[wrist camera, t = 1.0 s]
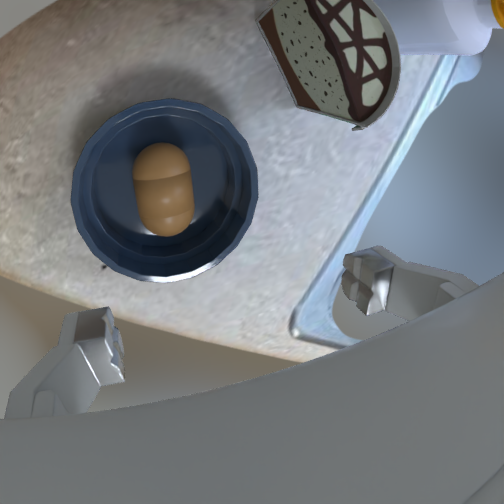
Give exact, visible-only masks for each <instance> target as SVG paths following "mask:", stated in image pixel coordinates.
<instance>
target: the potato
mask: <svg viewBox="0 0 504 504" xmlns="http://www.w3.org/2000/svg"><path fill="white" fill-rule="evenodd" d="M132 178H133V184H134V190H135V196H136V202H137V207H138V213H139V216H140V220H141V222H142V223H143V225H144V226H145V227H146V229H148V230H149V231H150V232H151V233H153V234H156V235H158V236H165V237H168V236H174V235H176V234H179V233H180V232H182V231H183V230H185V229H186V228H187V227H188V225H189V224H190V222H191V221H192V218H193V216H194V211H195V204H194V195H193V186H192V177H191V168H190V164H189V160H188V158H187V156H186V155H185V153H184V152H183V151H182V150H181V149H180V148H178V147H177V146H175V145H173V144H170V143H163V142H162V143H155V144H152V145H150V146H147V147H146V148H145V149H143V150H142V151H141V152H140V153H139V154H138V156H137V158H136V159H135V161H134V164H133V169H132Z"/></svg>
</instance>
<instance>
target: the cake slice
mask: <svg viewBox="0 0 504 504" xmlns="http://www.w3.org/2000/svg"><path fill="white" fill-rule="evenodd" d="M255 21H256V23H257V25H258V27H259V29H260V31H261V33H262V35H263V37H264V39H265V41H266V43H267V45H268V47H269V49H270V51H271V53H272V55H273V57H274V59H275V61H276V63H277V65H278V67H279V69H280V72H281V74H282V76H283V78H284V80H285V82H286V84H287V87H288V89H289V91H290V93H291V95H292V98H293V100H294V102H295V104H296V107H297V108H300V109H304V110H307V111H311V112H315V113H318V114H322V115H326V116H329V117H332V118H336V119H339V120H342V121H346V122H349V123H352V124H355V125H357V126H355V127H354V128H352V131H355V130H363V129H365V128H367V127H369V126H370V125H372V124H374V123H375V122H376V121H377V120H378V119H379V118H381V117H382V116H383V115H384V113H385V112H386V111H387V109H388V108H389V107H390V105H391V103H392V101H393V99H394V97H395V95H396V92H397V89H398V85H399V81H400V73H401V58H400V51H399V45H398V42H397V39H396V36H395V33H394V31H393V28H392V26H391V24H390V22H389V21H388V19H387V17H386V16H385V14H384V13H383V11H382V10H381V9H380V8H379V6H378V5H377V4H376V3H375V2H374V1H373V0H276V1H275V2H274V3H273V4H272V5H271V6H270V7H269V8H268V9H266V10H265V11H264V12H263V13H262V14H261V15H260V16H259V17H258V18H257V19H256V20H255Z"/></svg>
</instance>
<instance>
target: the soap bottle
mask: <svg viewBox="0 0 504 504" xmlns="http://www.w3.org/2000/svg"><path fill="white" fill-rule="evenodd" d="M373 1H374V2H375V3H376V4H377V5H378V6H379V8H380V9H381V10H382V11H383V13H384V14H385V16H386V17H387V19H388V21H389V22H390V24H391V26H392V28H393V31H394V33H395V36H396V39H397V42H398V45H399V51H400V54H402V55H424V54H430V55H464V56H469V55H474V54H477V53H479V52H482V51H483V50H484V48H485V47H486V46H487V44H488V42H489V39H490V36H491V32H492V28H502V29H504V0H373Z"/></svg>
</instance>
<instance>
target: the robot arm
mask: <svg viewBox="0 0 504 504" xmlns="http://www.w3.org/2000/svg"><path fill="white" fill-rule="evenodd" d="M343 266H344V268H345V269H346V270H345V272H344V273H343V275H342V281H341V285H342V289H343V292H344V294H345V295H346V296H347V297H348V298H349V300H352V301H356V306H357V307H358V308H359V309H360V310H361V311H362V312H363V313H364V314H365V315H366V316H369V315H372V314H375V313H378V312H381V311H384V310H385V311H386V312H388V313H391V314H393V315H395V316H398V317H400V318H402V319H405V320H407V321H409V322H406V323H404V324H402V325H400V326H397V327H395V328H393V329H391V330H388V331H386V332H383V333H381V334H379V335H376V336H374V337H371V338H369V339H366V340H364V341H361V342H359V343H356V344H354V345H351V346H349V347H346V348H343V349H341V350H338V351H335V352H333V353H330V354H327V355H324V356H322V357H319V358H316V359H313V360H310V361H307V362H304V363H301V364H299V365H296V366H292V367H290V368H286V369H283V370H280V371H277V372H273V373H270V374H267V375H263V376H260V377H257V378H253V379H250V380H246V381H243V382H239V383H235V384H231V385H228V386H224V387H220V388H216V389H212V390H208V391H204V392H200V393H196V394H191V395H187V396H182V397H178V398H173V399H168V400H163V401H158V402H153V403H147V404H142V405H136V406H130V407H124V408H118V409H111V410H104V411H97V412H89V413H87V411H88V409H89V407H90V406H91V404H92V402H93V400H94V399H95V397H96V395H97V393H98V392H99V390H100V387H101V386H106V385H112V384H116V383H122V382H125V367H124V364H123V362H122V359H123V357H124V349H123V344H122V339H121V336H120V333H119V330H118V328H116V327H115V326H114V316H113V314H112V311H111V309H110V308H109V307H103V308H97V309H91V310H86V311H81V312H75V313H69V314H66V315H65V316H64V320H63V324H62V328H61V332H60V337H59V341H58V345H57V346H56V347H53V348H52V349H51V350H50V351H49V352H48V353H47V354H46V355H45V356H44V357H43V358H42V359H41V360H40V361H39V362H38V363H37V364H36V365H35V366H34V367H33V369H32V370H31V371H30V372H29V373H28V374H27V375H26V376H25V377H24V378H23V379H22V380H21V381H20V382H19V383H18V384H17V386H16V387H15V388H14V389H13V390H12V391H11V392H10V395H9V399H8V404H7V408H6V413H5V418H4V419H0V504H504V272H503V273H502V274H500V275H498V276H497V277H495V278H493V279H491V280H489V281H488V282H486V283H484V284H482V285H481V286H478V285H477V284H476V283H474V282H473V281H471V280H470V279H468V278H467V277H465V276H464V275H462V274H458V273H454V272H450V271H446V270H442V269H438V268H434V267H430V266H425V265H421V264H417V263H413V262H408V263H407V262H405V261H404V260H402V259H401V258H399V257H398V256H396V255H395V254H393V253H392V252H390V251H389V250H387V249H386V248H384V247H383V246H374V247H371V248H368V249H364V250H361V251H357V252H353V253H350V254H346V255H345V257H344V259H343Z"/></svg>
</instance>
